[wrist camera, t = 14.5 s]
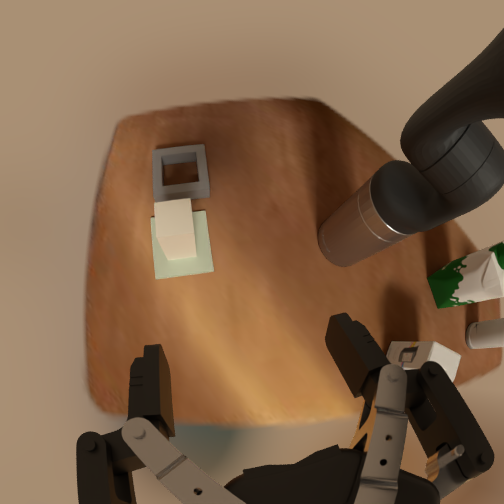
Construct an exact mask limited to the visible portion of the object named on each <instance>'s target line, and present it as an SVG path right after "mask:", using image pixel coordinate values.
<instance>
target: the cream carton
mask: <svg viewBox="0 0 504 504" xmlns="http://www.w3.org/2000/svg"><path fill="white" fill-rule="evenodd" d="M154 210H155V227H156V238H157V240H158V242H159V244H160V246H161V248H162V250H163V252H164V254H165V256H166V258H167V260H175V259H182V258H190V257H197V254H196V245H195V235H194V226H193V218H192V208H191V199H190V198H187V199H179V200H171V201H163V202H156V203H154Z"/></svg>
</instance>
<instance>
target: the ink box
mask: <svg viewBox="0 0 504 504" xmlns="http://www.w3.org/2000/svg"><path fill="white" fill-rule="evenodd" d="M386 357H387V358H388V360H389V361H390V363H391V364H396V365H399V366H400V367H402V368H403V369H404V370H410V369H420V368H421V366H422V365H423V363H425V362H427V361H435V362H437V363H439V364H440V365H441V366H442V367H443V369H444V370H445V372H446V373H447V375H448V376H449V378H450V379H451V381H452V382H453V381H454V378H455V375H456V372H457V368H458V365H459V362H460V359H461V355H459V354H458V353H456V352H454V351H452V350H450V349H448V348H446V347H444V346H443V345H441V344H439V343H437V342H435V341H430V342H406V341H392V342H391V344H390V346H389V349H388V352H387V355H386Z"/></svg>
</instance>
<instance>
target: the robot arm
mask: <svg viewBox="0 0 504 504" xmlns="http://www.w3.org/2000/svg"><path fill="white" fill-rule="evenodd" d="M495 118H504V28H503V30H502V31H501V32H500V33H499V34H498V35H497V36H496V37H495V39H494V40H493V41H492V42H491V43H490V44H489V45H488V46H487V47H486V48H485V49H484V50H483V51H482V53H481V54H479V55H478V56H477V57H476V58H475V59H474V60H473V61H472V62H471V63H470V64H469V65H467V66H466V67H465V68H464V69H463V70H462V71H461V72H460V73H458V74H457V75H456V76H455V77H454V78H452V79H451V80H450V81H449V82H448V83H446V84H445V85H444V86H443V87H442V88H441V89H439V90H438V91H437V92H436V93H435V94H433V95H432V96H431V97H430V98H429V99H428V100H427V101H426V102H425V103H424V104H422V105H421V106H420V107H419V108H418V109H417V111H416V112H415V113H414V114H413V115H412V116H411V117H410V119H409V120H408V122H407V123H406V125H405V127H404V129H403V131H402V134H401V139H400V144H401V149H402V151H403V153H404V154H405V156H406V157H407V159H408V160H409V161H410V163H411V164H410V163H408V162H405V161H399V160H395V161H390V162H388V163H386V164H384V165H383V166H382V167H381V168H380V169H379V170H378V171H377V172H376V173H375V174H374V175H373V176H372V177H371V178H370V179H369V180H367V181H366V182H365V183H364V184H363V185H362V186H361V187H360V188H359V189H358V190H357V191H356V192H355V193H354V194H353V195H352V196H351V197H350V198H349V199H348V200H347V201H346V202H345V203H344V204H343V205H341V206H340V207H339V208H338V209H337V210H336V211H335V212H334V213H333V214H332V215H331V216H330V217H329V218H328V219H327V220H325V222H324V223H323V224H322V225H321V227H320V229H319V233H318V242H319V246H320V249H321V251H322V253H323V254H324V256H325V257H326V258H327V259H328V260H329V261H330V262H332V263H334V264H335V265H338V266H345V267H346V266H351V265H353V264H355V263H357V262H360V261H362V260H364V259H366V258H368V257H370V256H372V255H374V254H376V253H378V252H380V251H382V250H384V249H386V248H388V247H390V246H392V245H394V244H396V243H398V242H400V241H402V240H404V239H405V238H407V237H409V236H411V235H413V234H415V233H417V232H423V231H428V230H430V229H432V228H434V227H436V226H439V225H441V224H443V223H445V222H447V221H450V220H452V219H454V218H456V217H458V216H461V215H463V214H465V213H467V212H470V211H471V210H474V209H475V208H477V207H479V206H481V205H482V204H484V203H485V202H487V201H488V200H489V199H491V198H492V197H493V196H494V195H495V194H496V193H497V192H498V191H499V190H500V189H501V187H502V186H503V184H504V150H503V148H502V146H500V144H499V142H498V141H497V140H496V138H495V137H494V136H493V135H492V133H491V132H490V131H489V129H488V128H487V127H486V126H485V125H484V123H483V122H482V120H487V119H495ZM325 342H326V346H327V348H328V350H329V352H330V354H331V356H332V357H333V359H334V361H335V363H336V365H337V367H338V368H339V370H340V372H341V374H342V376H343V377H344V379H345V381H346V383H347V385H348V387H349V389H350V390H351V392H352V394H353V396H354V398H357V397H359V396H363V398H364V401H363V404H362V409H361V413H360V417H359V421H358V425H357V429H356V432H355V435H354V437H353V439H352V441H351V444H350V446H349V449H347V448H344V449H343V448H341V449H339V446H338V444H337V445H334V446H331V447H329V448H326V449H323V450H320V451H317V452H315V453H313V454H311V455H309V456H308V457H306V458H304V459H303V460H301V461H299V462H297V463H295V464H287V465H265V466H260V467H255V468H250V469H244V470H243V474H242V475H239V476H238V477H236V478H234V479H232V480H231V481H230V482H228V483H227V484H226V485H225V486H224V487H222V486H221V485H220V484H219V483H217V482H216V481H214V480H213V479H212V478H211V477H209V476H208V475H207V474H206V473H205V472H204V471H202V470H201V469H200V468H199V467H198V466H197V465H195V464H194V463H193V462H192V461H191V460H190V459H188V458H187V457H186V456H184V455H183V454H182V453H181V452H179V451H178V450H177V449H176V448H175V447H174V446H173V445H172V444H171V443H170V442H169V437H175V430H174V419H173V407H172V393H171V376H170V369H169V365H168V362H167V359H166V357H165V354H164V351H163V348H162V346H161V344H155V345H145V346H144V357H140V358H135V360H134V362H133V363H132V365H131V368H130V383H129V385H130V387H129V405H128V419H127V421H126V423H125V424H124V426H123V427H122V428H120V429H119V430H117V431H114V432H111V433H108V434H105V435H100V434H98V433H96V432H86V433H83V434H82V435H81V436H80V437H79V438H78V440H77V447H76V456H77V458H76V459H77V487H78V500H79V504H137V503H136V497H135V492H134V485H133V477H132V471H134V470H137V469H141V468H144V467H148V468H149V469H150V471H152V473H153V474H154V475H155V476H156V477H157V479H158V480H159V481H160V482H161V483H162V484H163V485H164V486H165V487H166V488H167V489H168V490H169V491H170V492H171V493H172V494H173V495H174V496H175V497H176V498H177V499H179V500H180V501H181V502H182V503H183V504H440V500H441V499H442V498H444V497H445V496H447V495H448V494H450V493H451V492H452V491H454V490H455V489H457V488H458V487H459V486H461V485H462V484H464V483H466V482H468V481H469V480H471V479H473V478H475V477H477V476H479V475H480V474H482V473H484V472H485V471H487V470H489V469H490V468H491V466H492V464H493V462H494V452H493V450H492V448H491V446H490V444H489V442H488V440H487V439H486V437H485V435H484V433H483V431H482V430H481V428H480V426H479V425H478V423H477V421H476V419H475V418H474V416H473V414H472V413H471V411H470V409H469V408H468V406H467V405H466V403H465V401H464V399H463V398H462V397H461V395H460V393H459V392H458V390H457V388H456V387H455V385H454V384H453V382H452V381H451V379H450V378H449V376H448V375H447V373H446V372H445V370H444V369H443V367H442V366H441V365H440V364H439V363H437V362H435V361H427V362H425V363H423V365H422V366H421V368H420V369H410V370H404V369H403V368H402V367H400V366H399V365H396V364H391V363H390V361H389V360H388V358H387V357H386V356H385V354H384V353H383V351H382V350H381V348H380V347H379V346H378V344H377V343H376V341H374V338H373V337H372V336H371V335H370V333H369V331H368V330H367V329H366V327H365V326H364V325H362V324H361V323H360V322H358V321H357V320H356V321H352V319H351V318H350V317H349V315H348V314H347V313H341V314H337V315H333V316H331V317H330V320H329V324H328V328H327V332H326V336H325ZM428 399H429V400H428ZM432 406H433V407H432ZM404 412H405V413H404ZM408 420H409V422H410V423H411V425H412V427H413V429H414V431H415V433H416V435H417V437H418V439H419V441H420V443H421V445H422V447H423V449H424V451H425V453H426V455H427V457H428V460H427V463H426V468H425V473H426V474H427V479H425V478H422V477H419V476H416V475H414V474H412V473H409V472H407V471H404V470H402V469H400V465H401V460H402V455H403V450H404V443H405V437H406V430H407V423H408Z"/></svg>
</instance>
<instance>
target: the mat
mask: <svg viewBox="0 0 504 504" xmlns="http://www.w3.org/2000/svg"><path fill="white" fill-rule="evenodd" d="M192 218H193V226H194V235H195V245H196V254H197V257H190V258H182V259H175V260H167V258H166V256H165V254H164V252H163V250H162V248H161V246H160V244H159V242H158V240H157V238H156V227H155V217H152V218H151V231H152V245H153V257H154V267H155V277H156V279H163V278H171V277H178V276H185V275H193V274H200V273H207V272H214V268H213V261H212V255H211V248H210V241H209V234H208V227H207V220H206V212H205V211H197V212H192Z"/></svg>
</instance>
